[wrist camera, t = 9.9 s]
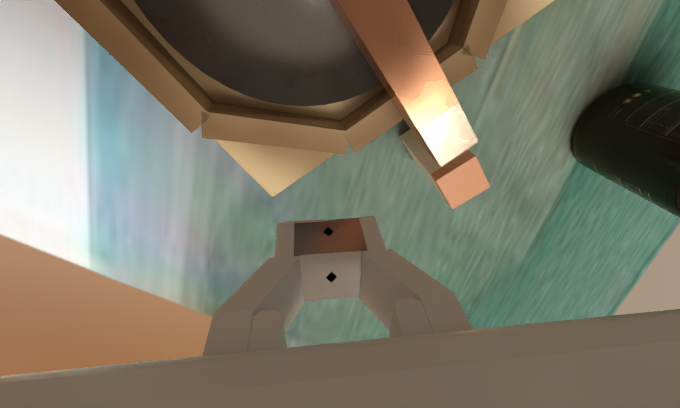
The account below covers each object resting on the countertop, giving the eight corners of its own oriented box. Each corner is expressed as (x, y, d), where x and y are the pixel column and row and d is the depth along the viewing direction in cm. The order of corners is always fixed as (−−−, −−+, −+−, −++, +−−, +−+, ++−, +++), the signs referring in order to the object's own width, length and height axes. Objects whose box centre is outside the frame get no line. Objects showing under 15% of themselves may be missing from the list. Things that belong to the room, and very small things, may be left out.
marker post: (428, 116, 23) (475, 156, 17) (441, 142, 24) (490, 186, 18) (399, 136, 23) (435, 180, 17) (414, 160, 24) (452, 209, 19)
